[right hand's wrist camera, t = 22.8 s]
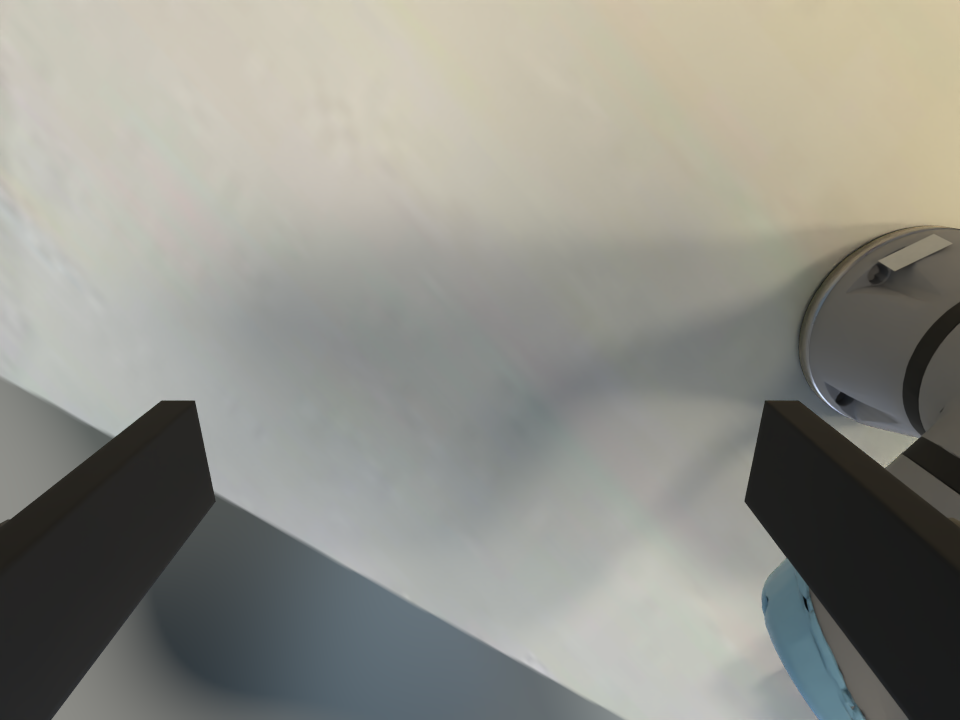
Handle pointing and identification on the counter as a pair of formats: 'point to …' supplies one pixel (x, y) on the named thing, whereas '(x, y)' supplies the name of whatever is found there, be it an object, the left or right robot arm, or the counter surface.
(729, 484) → the counter surface
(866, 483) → the right robot arm
